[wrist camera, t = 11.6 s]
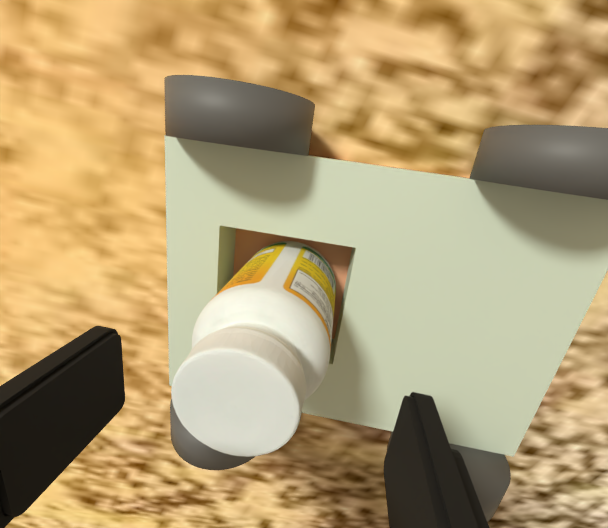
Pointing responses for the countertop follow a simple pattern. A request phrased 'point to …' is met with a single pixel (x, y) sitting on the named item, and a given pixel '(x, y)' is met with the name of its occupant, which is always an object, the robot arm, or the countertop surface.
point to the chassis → (393, 261)
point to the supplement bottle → (258, 352)
